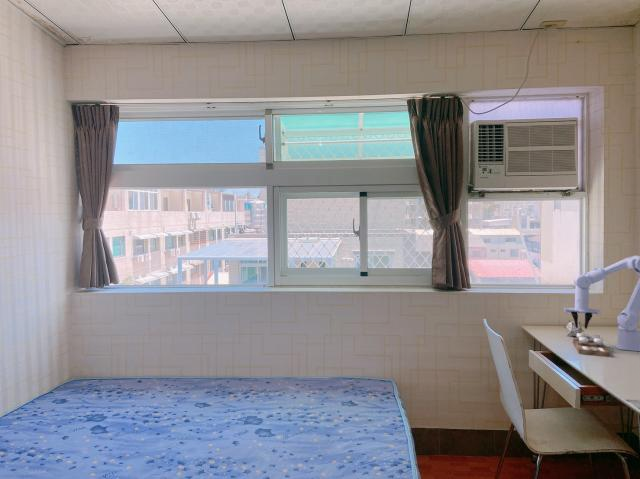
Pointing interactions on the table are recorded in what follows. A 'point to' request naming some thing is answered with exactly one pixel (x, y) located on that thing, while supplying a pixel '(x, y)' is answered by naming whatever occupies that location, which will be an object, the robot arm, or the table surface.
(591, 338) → the button
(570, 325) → the game die
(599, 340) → the button
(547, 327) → the table surface
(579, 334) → the back left button
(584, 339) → the button
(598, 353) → the button board
